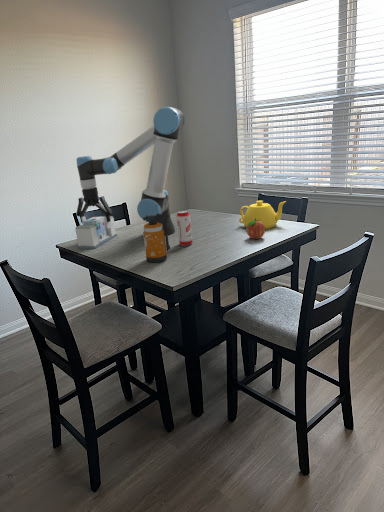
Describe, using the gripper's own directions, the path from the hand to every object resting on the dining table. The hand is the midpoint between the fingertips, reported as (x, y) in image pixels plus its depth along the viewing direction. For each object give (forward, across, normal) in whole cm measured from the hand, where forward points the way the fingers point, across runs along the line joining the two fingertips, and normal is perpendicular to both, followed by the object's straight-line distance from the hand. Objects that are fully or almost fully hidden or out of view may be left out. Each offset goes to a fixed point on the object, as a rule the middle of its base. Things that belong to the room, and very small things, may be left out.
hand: (96, 228), depth 204 cm
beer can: (+8, -49, +4) cm, 50 cm away
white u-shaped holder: (+7, +1, 0) cm, 7 cm away
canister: (+8, -44, +26) cm, 52 cm away
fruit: (+9, -81, -6) cm, 82 cm away
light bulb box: (+6, +1, 0) cm, 6 cm away
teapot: (+9, -82, -29) cm, 87 cm away
